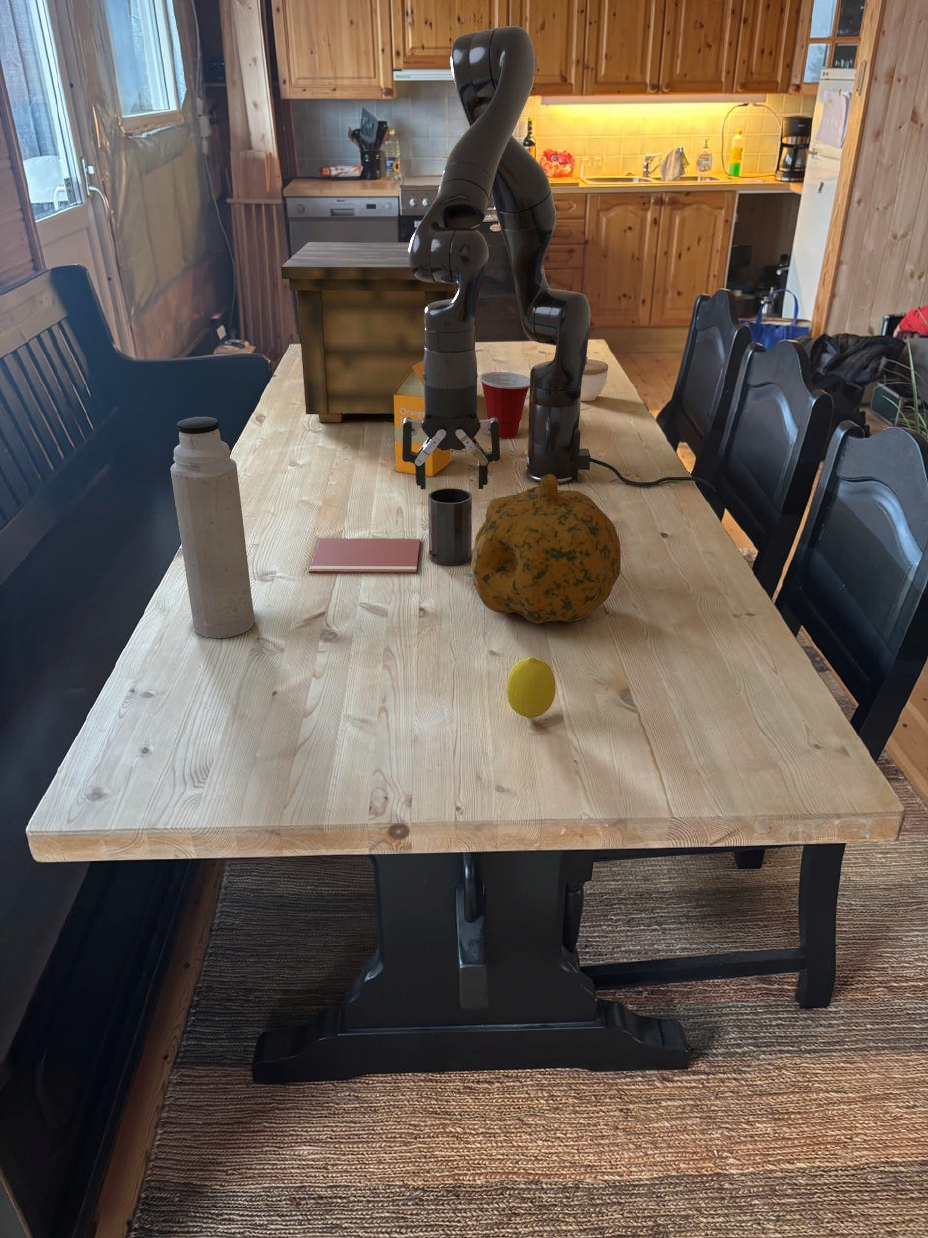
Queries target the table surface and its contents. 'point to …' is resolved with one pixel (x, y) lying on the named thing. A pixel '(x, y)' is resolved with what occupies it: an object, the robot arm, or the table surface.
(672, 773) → the table surface
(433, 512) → the black cup
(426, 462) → the orange juice
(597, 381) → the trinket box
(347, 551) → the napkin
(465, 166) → the robot arm
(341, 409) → the crate
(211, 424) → the thermos bottle
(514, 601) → the decorative pumpkin
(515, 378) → the plastic cup
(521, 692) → the lemon
